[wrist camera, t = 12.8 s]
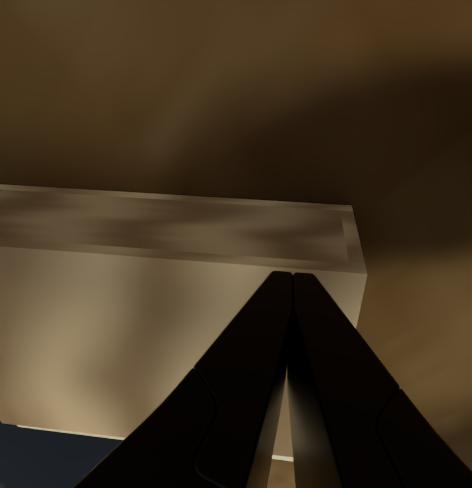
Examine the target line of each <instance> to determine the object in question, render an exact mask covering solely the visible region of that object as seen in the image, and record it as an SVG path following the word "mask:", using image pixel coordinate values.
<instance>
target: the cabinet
mask: <svg viewBox="0 0 472 488" xmlns="http://www.w3.org/2000/svg"><path fill="white" fill-rule="evenodd" d="M272 271H287V272H291V273H292V274H294V273H295V272H300V273H312V274H314V275H315V276H316V277H317V279H318V280H319V281H320V282H321V284H322V285H323V286H324V288H325V289H326V290H327V292H328V293H329V294H330V296H331V297H332V298H333V300H334V301H335V302H336V303H337V305H338V306H339V307H340V309H341V310H342V311H343V313H344V314H345V315H346V317H347V318H348V319H349V320H350V322H351V323H352V324H353V326H354V327H355V328H356V327H357V322H358V317H359V312H360V308H361V303H362V298H363V293H364V288H365V284H366V279H367V270H366V265H365V261H364V257H363V252H362V248H361V244H360V239H359V235H358V230H357V226H356V222H355V217H354V213H353V209H352V205H335V204H319V203H302V202H286V201H269V200H253V199H236V198H220V197H203V196H186V195H170V194H153V193H137V192H120V191H104V190H87V189H71V188H54V187H37V186H21V185H4V184H0V420H1V423H5V424H14V425H22V426H31V427H39V428H48V429H56V430H65V431H73V432H82V433H90V434H99V435H107V436H116V437H124V438H126V437H127V436H128V435H129V434H130V433H132V432H133V431H134V430H135V429H136V428H137V427H138V426H139V425H140V424H141V423H142V422H143V421H144V420H145V419H146V418H147V417H148V416H149V415H150V414H151V413H152V412H153V411H154V410H155V409H156V408H157V407H158V406H159V405H160V404H161V403H162V402H163V401H164V400H165V399H166V398H167V397H168V395H169V394H170V393H171V392H172V391H173V390H174V389H175V388H176V386H177V385H178V384H179V383H180V382H181V381H182V379H183V378H184V377H185V376H186V375H187V373H188V372H189V371H190V370H191V369H192V368H194V365H195V364H196V363H197V361H198V360H199V359H200V358H201V357H202V355H203V354H204V353H205V352H206V351H207V349H208V348H209V347H210V346H211V345H212V343H213V342H214V341H215V340H216V338H217V337H218V336H219V335H220V334H221V332H222V331H223V330H224V329H225V328H226V326H227V325H228V324H229V323H230V321H231V320H232V319H233V318H234V317H235V315H236V314H237V313H238V312H239V311H240V309H241V308H242V307H243V306H244V305H245V303H246V302H247V301H248V300H249V298H250V297H251V296H252V295H253V294H254V292H255V291H256V290H257V289H258V288H259V286H260V285H261V284H262V283H263V282H264V280H265V279H266V278H267V277H268V275H269V274H270V273H271V272H272ZM273 455H278V456H286V457H293V449H292V438H291V426H290V415H289V403H288V392H287V372H286V381H285V388H284V394H283V400H282V405H281V411H280V416H279V422H278V427H277V433H276V438H275V444H274V449H273Z"/></svg>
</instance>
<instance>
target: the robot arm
mask: <svg viewBox="0 0 472 488" xmlns="http://www.w3.org/2000/svg"><path fill="white" fill-rule="evenodd" d="M286 372H287V392H288V403H289V415H290V426H291V438H292V449H293V461H294V472H295V484H296V488H472V471H471V470H470V469H469V468H468V467H467V466H466V465H465V464H464V463H463V461H462V460H461V459H460V458H459V457H458V456H457V455H456V454H455V453H454V451H453V450H452V449H451V448H450V447H449V446H448V445H447V444H446V443H445V441H444V440H443V439H442V438H441V437H440V436H439V435H438V434H437V432H436V431H435V430H434V429H433V428H432V426H431V425H430V424H429V423H428V422H427V420H426V419H425V418H424V417H423V415H422V414H421V413H420V412H419V410H418V409H417V408H416V407H415V405H414V404H413V403H412V402H411V400H410V399H409V398H408V396H407V395H406V394H405V392H404V391H403V390H402V389H399V388H400V387H399V385H398V383H397V382H396V381H395V379H394V378H393V377H392V376H391V374H390V373H389V372H388V370H387V369H386V368H385V366H384V365H383V364H382V362H381V361H380V360H379V359H378V357H377V356H376V355H375V353H374V352H373V351H372V349H371V348H370V347H369V345H368V344H367V343H366V341H365V340H364V339H363V338H362V336H361V335H360V334H359V332H358V331H357V330H356V328H355V327H354V326H353V324H352V323H351V322H350V320H349V319H348V318H347V317H346V315H345V314H344V313H343V311H342V310H341V309H340V307H339V306H338V305H337V303H336V302H335V301H334V300H333V298H332V297H331V296H330V294H329V293H328V292H327V290H326V289H325V288H324V286H323V285H322V284H321V282H320V281H319V280H318V279H317V277H316V276H315V275H314V274H312V273H300V272H295V273H294V274H292V273H291V272H287V271H272V272H271V273H270V274H269V275H268V277H267V278H266V279H265V280H264V282H263V283H262V284H261V285H260V286H259V288H258V289H257V290H256V291H255V292H254V294H253V295H252V296H251V297H250V298H249V300H248V301H247V302H246V303H245V305H244V306H243V307H242V308H241V309H240V311H239V312H238V313H237V314H236V315H235V317H234V318H233V319H232V320H231V321H230V323H229V324H228V325H227V326H226V328H225V329H224V330H223V331H222V332H221V334H220V335H219V336H218V337H217V338H216V340H215V341H214V342H213V343H212V345H211V346H210V347H209V348H208V349H207V351H206V352H205V353H204V354H203V355H202V357H201V358H200V359H199V360H198V361H197V363H196V364H195V365H194V368H192V369H191V370H190V371H189V372H188V373H187V375H186V376H185V377H184V378H183V379H182V381H181V382H180V383H179V384H178V385H177V386H176V388H175V389H174V390H173V391H172V392H171V393H170V394H169V395H168V397H167V398H166V399H165V400H164V401H163V402H162V403H161V404H160V405H159V406H158V407H157V408H156V409H155V410H154V411H153V412H152V413H151V414H150V415H149V416H148V417H147V418H146V419H145V420H144V421H143V422H142V423H141V424H140V425H139V426H138V427H137V428H136V429H135V430H134V431H133V432H132V433H130V434H129V435H128V436H127V437H126V438H125V439H124V440H123V441H122V442H121V443H120V444H119V445H118V446H117V447H116V448H115V449H113V450H112V451H111V452H110V453H109V454H108V455H107V456H106V457H105V458H104V459H103V460H102V461H101V462H100V463H99V464H97V465H96V466H95V467H94V468H93V469H92V470H91V471H90V472H89V473H88V474H87V475H86V476H85V477H84V478H83V479H82V480H80V481H79V482H78V483H77V484H76V485H75V486H74V487H73V488H267V483H268V477H269V472H270V466H271V461H272V455H273V449H274V444H275V438H276V433H277V427H278V422H279V416H280V411H281V405H282V400H283V394H284V388H285V381H286Z"/></svg>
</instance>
